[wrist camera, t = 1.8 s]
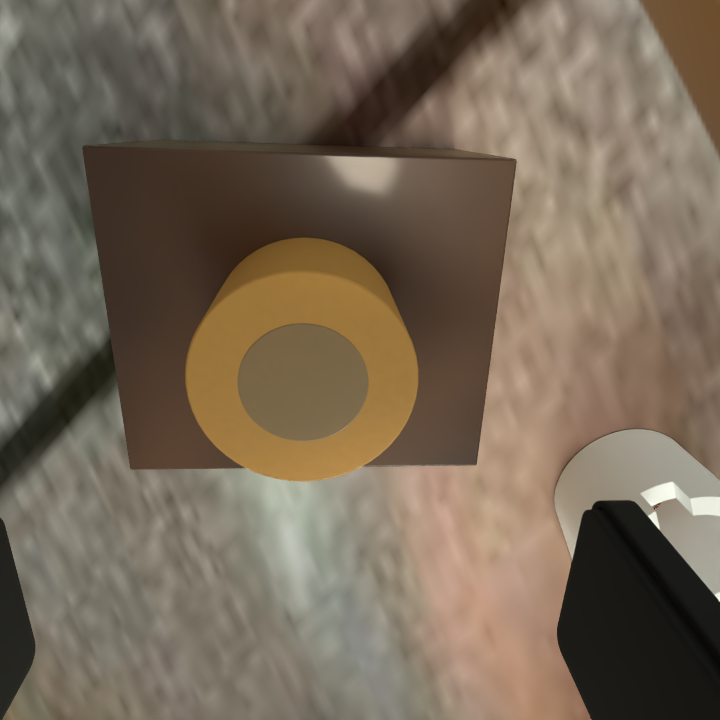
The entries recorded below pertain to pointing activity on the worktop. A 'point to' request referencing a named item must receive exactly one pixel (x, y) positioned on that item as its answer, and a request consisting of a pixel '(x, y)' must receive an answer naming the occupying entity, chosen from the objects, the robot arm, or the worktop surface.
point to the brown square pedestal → (285, 221)
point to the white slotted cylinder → (648, 493)
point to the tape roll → (302, 363)
